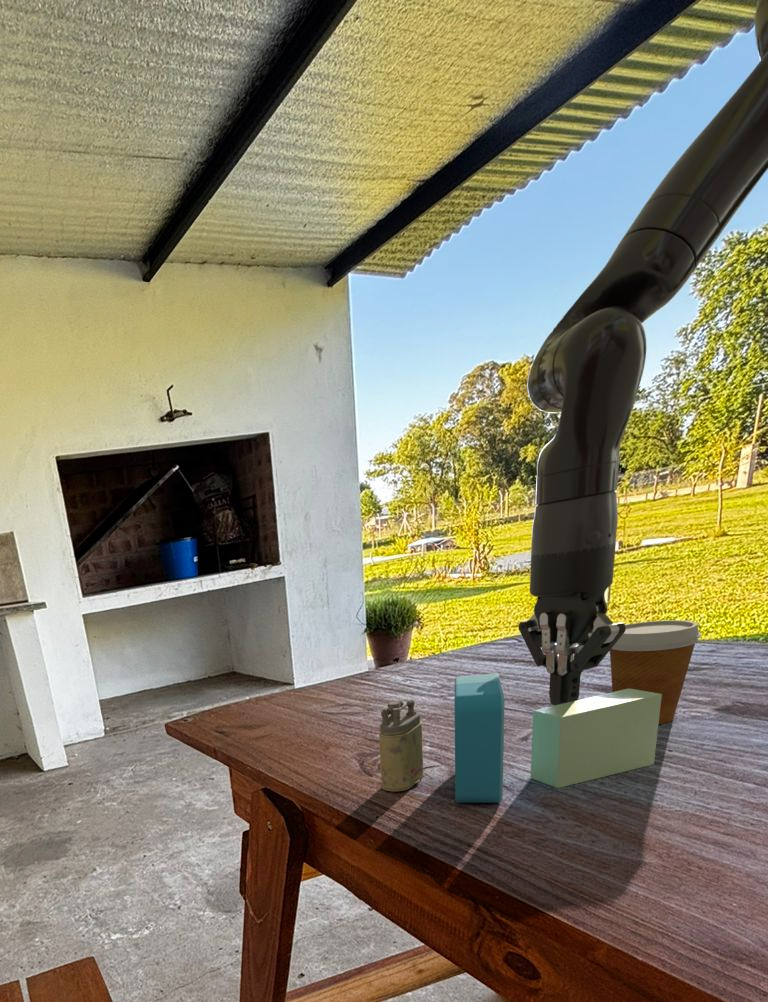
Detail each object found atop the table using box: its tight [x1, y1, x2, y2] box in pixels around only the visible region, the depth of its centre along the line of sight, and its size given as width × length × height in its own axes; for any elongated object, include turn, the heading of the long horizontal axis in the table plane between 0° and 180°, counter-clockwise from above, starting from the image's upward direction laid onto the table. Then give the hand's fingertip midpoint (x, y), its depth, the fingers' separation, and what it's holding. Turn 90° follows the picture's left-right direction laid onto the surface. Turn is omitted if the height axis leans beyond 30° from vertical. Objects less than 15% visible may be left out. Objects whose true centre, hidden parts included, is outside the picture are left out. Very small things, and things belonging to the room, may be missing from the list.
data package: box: [454, 672, 505, 804], centre depth 68 cm, size 12×4×12 cm, turn 156°
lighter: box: [378, 699, 425, 792], centre depth 74 cm, size 7×4×10 cm, turn 137°
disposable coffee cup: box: [609, 619, 702, 725], centre depth 79 cm, size 10×10×12 cm
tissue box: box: [530, 689, 662, 789], centre depth 68 cm, size 12×4×8 cm, turn 101°
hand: (563, 704), depth 71 cm, fingers closed
